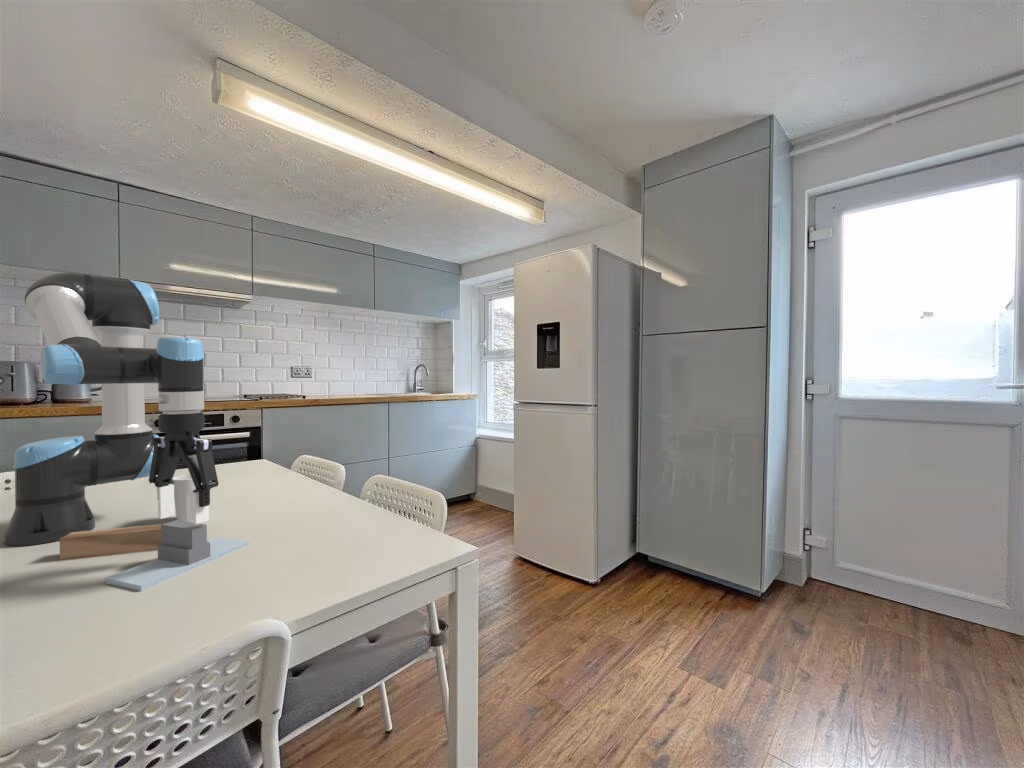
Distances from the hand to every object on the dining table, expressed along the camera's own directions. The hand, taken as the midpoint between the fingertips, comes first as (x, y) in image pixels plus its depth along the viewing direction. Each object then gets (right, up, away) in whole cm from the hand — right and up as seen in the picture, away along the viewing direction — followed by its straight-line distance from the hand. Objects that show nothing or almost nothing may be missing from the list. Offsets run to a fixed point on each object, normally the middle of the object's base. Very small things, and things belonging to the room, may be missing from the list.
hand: (183, 519), depth 90 cm
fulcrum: (0, -9, 0) cm, 9 cm away
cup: (-18, -9, +26) cm, 33 cm away
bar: (-18, -9, +6) cm, 21 cm away
